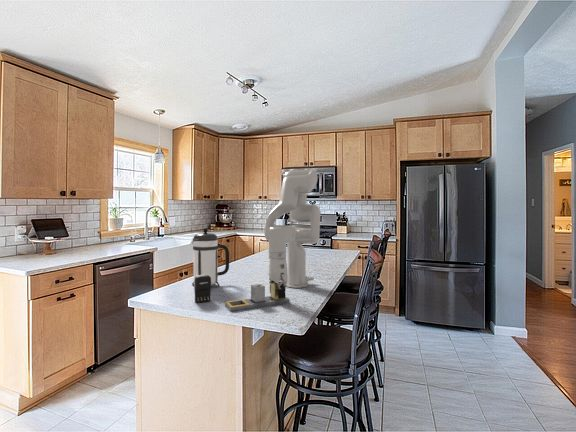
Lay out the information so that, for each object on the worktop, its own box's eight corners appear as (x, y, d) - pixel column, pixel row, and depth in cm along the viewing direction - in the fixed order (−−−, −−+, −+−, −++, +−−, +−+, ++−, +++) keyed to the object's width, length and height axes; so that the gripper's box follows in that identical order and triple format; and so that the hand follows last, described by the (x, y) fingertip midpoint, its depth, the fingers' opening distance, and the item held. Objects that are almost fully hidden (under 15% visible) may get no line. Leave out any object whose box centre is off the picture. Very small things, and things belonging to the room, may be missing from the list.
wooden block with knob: (279, 299, 142) (279, 281, 142) (284, 302, 138) (284, 283, 138) (270, 301, 140) (270, 282, 140) (274, 303, 136) (274, 284, 136)
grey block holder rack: (281, 298, 144) (281, 294, 144) (289, 303, 137) (289, 298, 137) (225, 305, 133) (225, 301, 133) (230, 311, 126) (230, 307, 126)
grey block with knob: (260, 302, 138) (260, 283, 138) (264, 305, 134) (264, 286, 134) (251, 303, 136) (251, 284, 136) (254, 306, 132) (254, 287, 132)
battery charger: (195, 304, 135) (195, 277, 135) (193, 301, 139) (193, 275, 138) (212, 301, 139) (212, 275, 138) (210, 299, 142) (209, 273, 142)
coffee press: (212, 291, 156) (212, 229, 155) (184, 288, 161) (184, 228, 160) (229, 283, 172) (229, 227, 171) (204, 280, 177) (203, 226, 176)
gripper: (294, 257, 132) (294, 299, 133) (277, 252, 148) (276, 289, 148) (277, 258, 129) (277, 302, 129) (261, 253, 145) (261, 291, 145)
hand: (277, 295), depth 139 cm, fingers open, 8 cm apart
